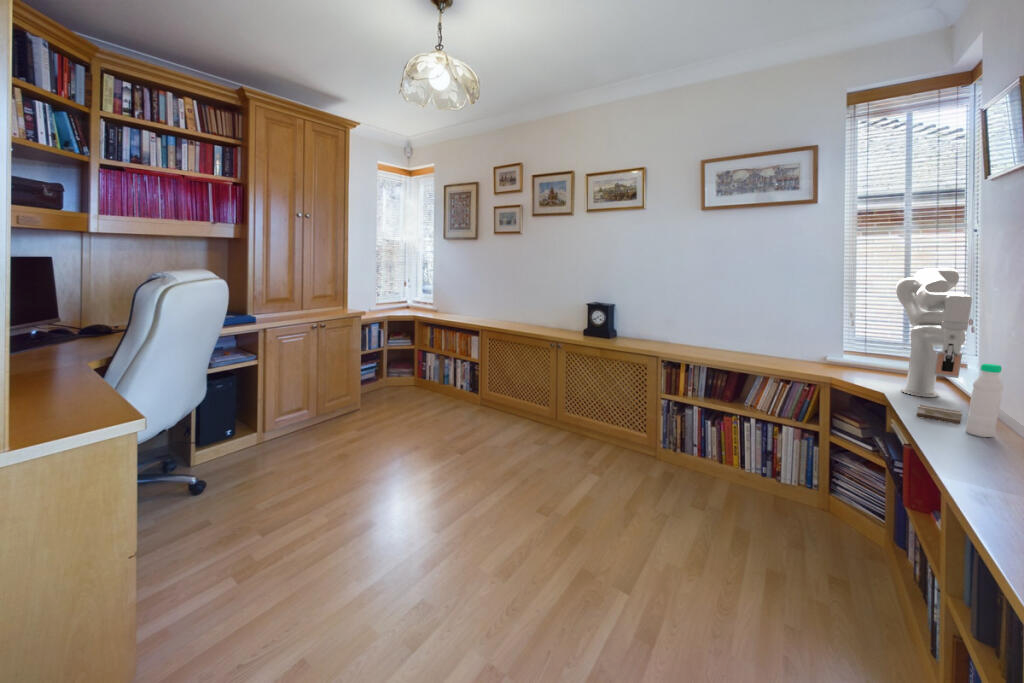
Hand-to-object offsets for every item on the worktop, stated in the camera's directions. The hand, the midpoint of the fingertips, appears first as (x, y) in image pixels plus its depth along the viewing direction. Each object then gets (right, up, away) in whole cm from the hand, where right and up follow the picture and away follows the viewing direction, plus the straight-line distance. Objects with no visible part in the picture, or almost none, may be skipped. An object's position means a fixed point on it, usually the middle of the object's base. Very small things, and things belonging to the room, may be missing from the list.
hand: (947, 369), depth 178 cm
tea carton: (0, -3, +1) cm, 3 cm away
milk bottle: (-13, -21, -25) cm, 35 cm away
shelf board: (-9, -18, -6) cm, 21 cm away
